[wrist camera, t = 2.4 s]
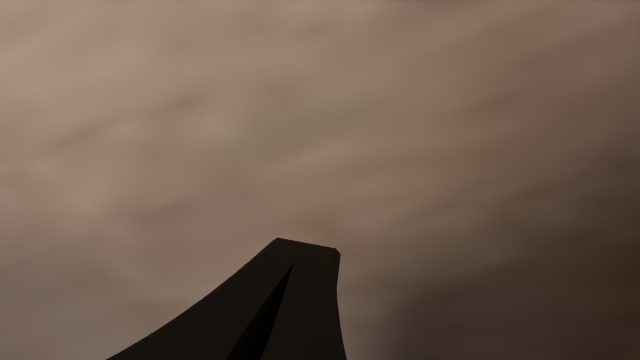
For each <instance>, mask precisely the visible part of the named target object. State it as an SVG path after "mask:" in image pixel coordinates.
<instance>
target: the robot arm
mask: <svg viewBox="0 0 640 360" xmlns="http://www.w3.org/2000/svg"><path fill="white" fill-rule="evenodd" d="M340 255H341V254H340V253H339V252H338V251H337V249H336V248H330V247H325V246H319V245H314V244H309V243H303V242H298V241H293V240H287V239H282V238H276V239H275V240H273V241H272V242H271V243H269V244H268V245H267V246H266V247H265V248H264V249H263V250H261V251H260V252H259V253H258V254H257V255H256V256H255V257H253V258H252V259H251V260H250V261H249V262H248V263H246V264H245V265H244V266H243V267H242V268H241V269H239V270H238V271H237V272H236V273H235V274H233V275H232V276H231V277H230V278H228V279H227V280H226V281H225V282H223V283H222V284H221V285H219V286H218V287H217V288H216V289H214V290H213V291H212V292H211V293H209V294H208V295H207V296H205V297H204V298H203V299H201V300H200V301H198V302H197V303H196V304H194V305H193V306H191V307H190V308H189V309H187V310H186V311H184V312H183V313H182V314H180V315H179V316H177V317H176V318H174V319H173V320H172V321H170V322H169V323H167V324H165V325H164V326H162V327H161V328H159V329H158V330H156V331H155V332H153V333H151V334H150V335H148V336H147V337H145V338H143V339H142V340H140V341H138V342H137V343H135V344H133V345H131V346H130V347H128V348H126V349H125V350H123V351H121V352H119V353H118V354H116V355H114V356H112V357H110V358H108V359H106V360H347V359H346V354H345V349H344V344H343V339H342V333H341V327H340V319H339V311H338V303H337V280H338V272H339V264H340Z"/></svg>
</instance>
